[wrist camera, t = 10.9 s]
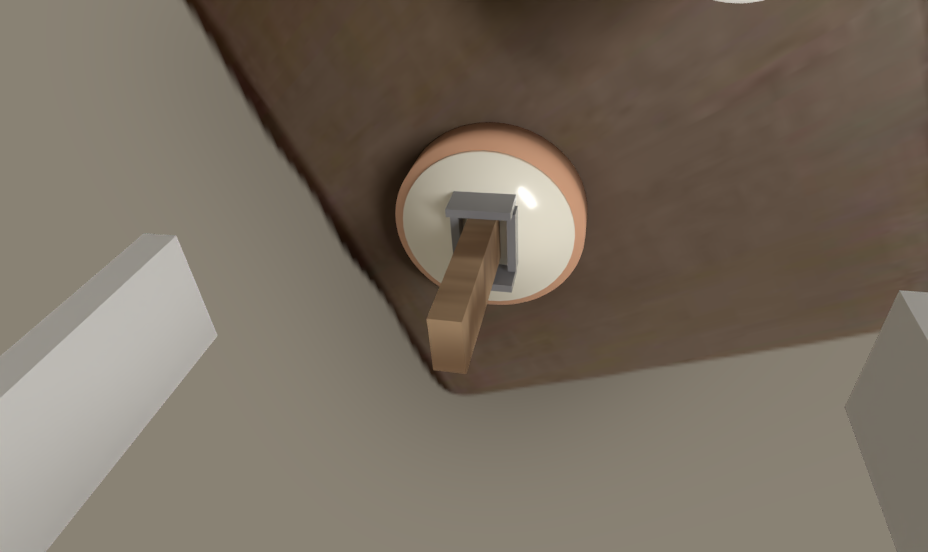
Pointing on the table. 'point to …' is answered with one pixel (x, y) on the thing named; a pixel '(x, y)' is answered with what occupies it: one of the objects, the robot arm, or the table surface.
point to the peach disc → (495, 207)
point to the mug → (738, 1)
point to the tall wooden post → (464, 296)
